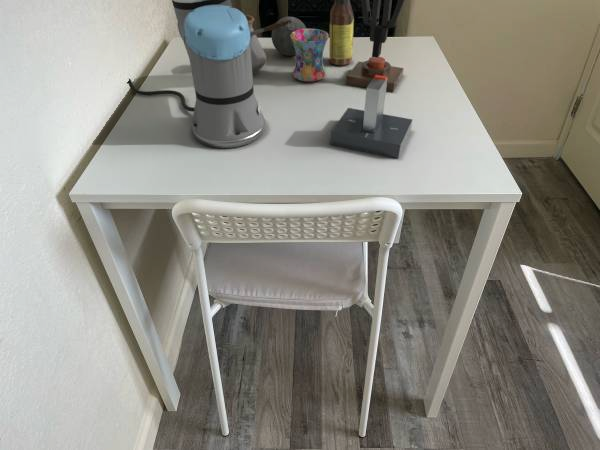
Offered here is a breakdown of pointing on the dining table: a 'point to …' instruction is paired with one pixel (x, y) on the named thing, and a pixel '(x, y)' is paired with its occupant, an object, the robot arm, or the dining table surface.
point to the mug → (309, 54)
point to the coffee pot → (256, 50)
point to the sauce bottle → (341, 32)
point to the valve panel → (371, 134)
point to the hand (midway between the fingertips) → (376, 55)
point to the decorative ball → (286, 36)
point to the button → (376, 62)
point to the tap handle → (374, 103)
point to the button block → (365, 75)
